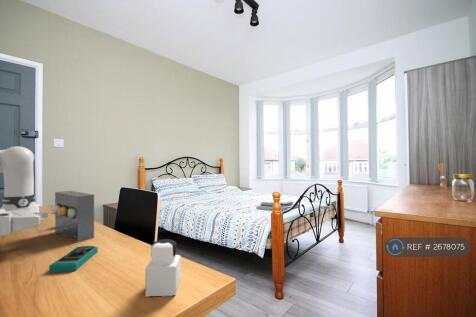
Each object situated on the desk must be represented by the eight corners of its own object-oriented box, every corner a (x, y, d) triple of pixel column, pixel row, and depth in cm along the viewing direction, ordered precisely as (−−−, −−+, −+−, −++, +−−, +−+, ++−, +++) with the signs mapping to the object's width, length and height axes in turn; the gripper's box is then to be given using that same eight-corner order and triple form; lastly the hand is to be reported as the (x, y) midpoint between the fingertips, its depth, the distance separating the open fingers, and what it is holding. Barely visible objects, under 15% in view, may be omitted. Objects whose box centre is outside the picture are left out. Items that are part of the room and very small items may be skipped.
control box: (55, 232, 104) (55, 192, 104) (70, 229, 109) (70, 190, 109) (77, 242, 92) (77, 196, 92) (94, 237, 97) (94, 194, 97)
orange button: (57, 215, 97) (57, 207, 97) (64, 214, 99) (64, 206, 99) (60, 217, 95) (60, 208, 95) (67, 215, 97) (67, 207, 97)
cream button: (51, 213, 100) (51, 205, 100) (57, 212, 102) (57, 204, 102) (54, 214, 98) (54, 206, 98) (61, 213, 100) (61, 205, 100)
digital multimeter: (98, 252, 83) (98, 244, 83) (75, 272, 68) (75, 262, 68) (76, 253, 82) (76, 245, 82) (47, 274, 67) (47, 264, 67)
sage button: (67, 217, 94) (67, 208, 94) (74, 216, 96) (74, 207, 96) (71, 218, 92) (71, 209, 92) (78, 217, 94) (78, 208, 94)
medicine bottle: (153, 282, 62) (153, 237, 62) (180, 280, 63) (180, 236, 63) (145, 297, 55) (145, 247, 55) (175, 296, 56) (175, 246, 56)
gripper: (-11, 226, 86) (37, 218, 98) (5, 236, 75) (57, 226, 86) (-11, 209, 86) (37, 203, 98) (5, 217, 75) (57, 209, 86)
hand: (46, 214), depth 92 cm, fingers closed
